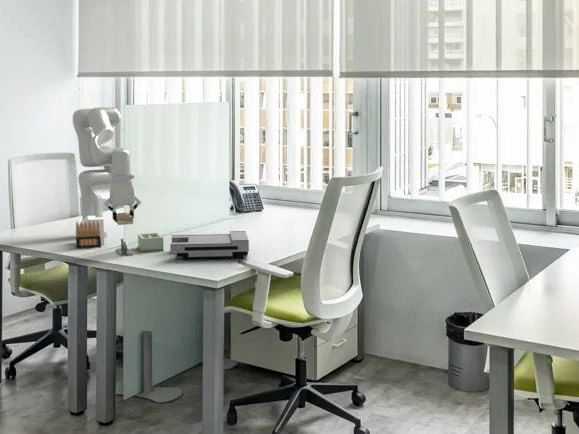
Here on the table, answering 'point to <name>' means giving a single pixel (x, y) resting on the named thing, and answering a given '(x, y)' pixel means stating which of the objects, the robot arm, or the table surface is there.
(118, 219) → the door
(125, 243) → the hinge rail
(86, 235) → the ammunition clip
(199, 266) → the table surface
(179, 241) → the grey printer
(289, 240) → the table surface
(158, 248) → the green compartment box
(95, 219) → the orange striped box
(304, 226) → the table surface
